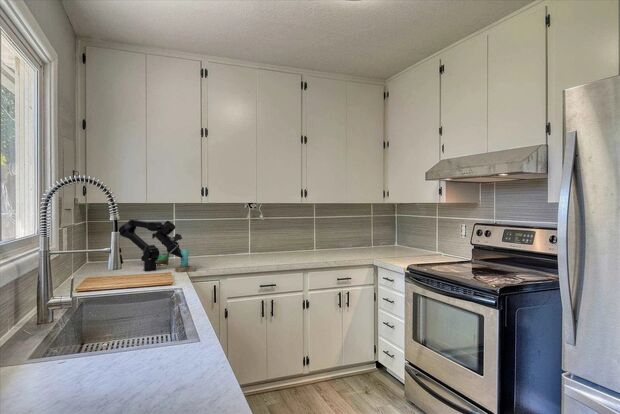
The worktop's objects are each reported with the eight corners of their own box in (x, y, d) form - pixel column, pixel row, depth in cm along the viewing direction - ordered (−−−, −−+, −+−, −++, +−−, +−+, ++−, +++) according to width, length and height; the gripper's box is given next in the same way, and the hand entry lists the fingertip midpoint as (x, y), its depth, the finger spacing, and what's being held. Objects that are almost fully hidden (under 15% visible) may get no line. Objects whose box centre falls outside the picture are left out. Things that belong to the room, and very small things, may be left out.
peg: (181, 271, 234) (182, 250, 234) (179, 270, 238) (180, 249, 238) (188, 271, 236) (189, 250, 237) (186, 270, 240) (187, 249, 240)
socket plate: (179, 272, 231) (179, 268, 231) (175, 270, 238) (175, 266, 238) (193, 271, 236) (193, 267, 236) (189, 269, 243) (189, 265, 243)
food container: (150, 265, 259) (150, 250, 259) (151, 264, 265) (151, 250, 265) (169, 265, 262) (169, 250, 262) (170, 264, 268) (170, 249, 268)
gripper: (173, 230, 227) (192, 248, 230) (175, 228, 245) (193, 246, 248) (158, 243, 225) (177, 261, 228) (162, 241, 243) (179, 258, 246)
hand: (182, 256), depth 237 cm, fingers open, 9 cm apart
